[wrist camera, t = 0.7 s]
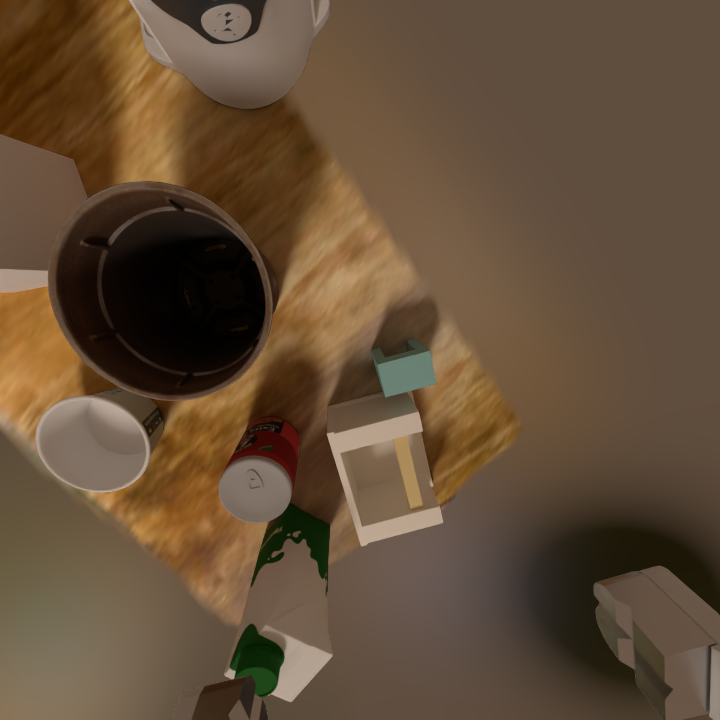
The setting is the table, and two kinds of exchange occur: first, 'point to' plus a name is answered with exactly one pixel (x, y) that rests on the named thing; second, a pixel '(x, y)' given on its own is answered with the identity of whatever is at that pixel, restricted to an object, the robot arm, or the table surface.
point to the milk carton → (286, 609)
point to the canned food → (261, 471)
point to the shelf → (383, 465)
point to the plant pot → (160, 291)
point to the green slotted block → (404, 369)
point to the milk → (32, 210)
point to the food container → (99, 439)
